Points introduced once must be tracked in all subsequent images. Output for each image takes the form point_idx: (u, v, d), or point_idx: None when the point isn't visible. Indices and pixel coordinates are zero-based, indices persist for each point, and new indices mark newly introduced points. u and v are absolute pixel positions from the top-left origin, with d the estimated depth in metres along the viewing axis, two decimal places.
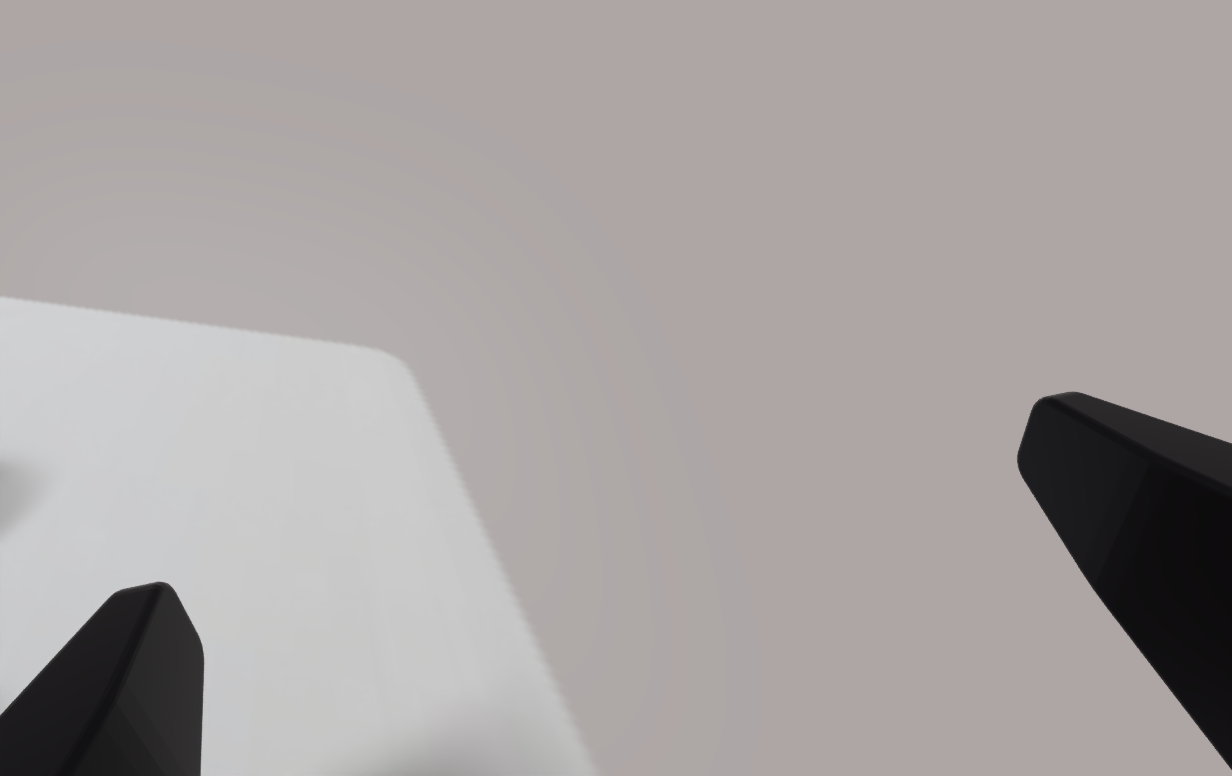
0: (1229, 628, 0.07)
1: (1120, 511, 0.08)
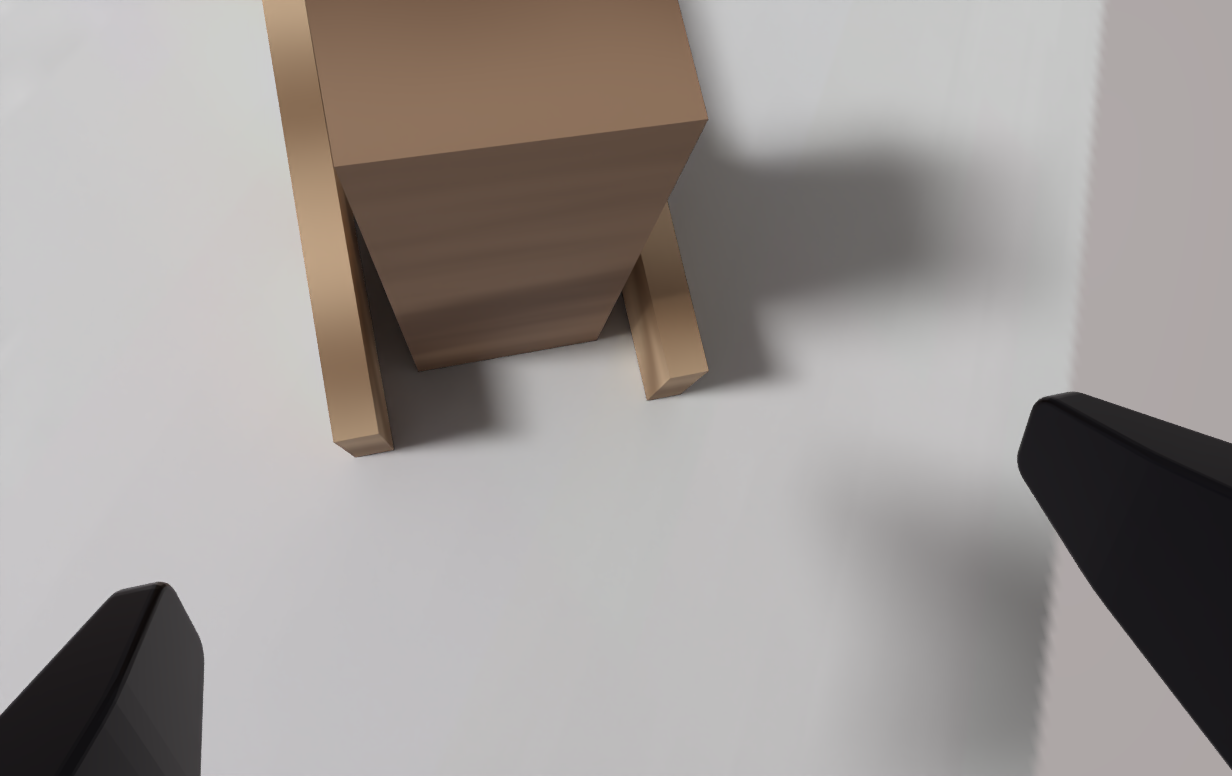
0: (1229, 628, 0.07)
1: (1120, 511, 0.08)
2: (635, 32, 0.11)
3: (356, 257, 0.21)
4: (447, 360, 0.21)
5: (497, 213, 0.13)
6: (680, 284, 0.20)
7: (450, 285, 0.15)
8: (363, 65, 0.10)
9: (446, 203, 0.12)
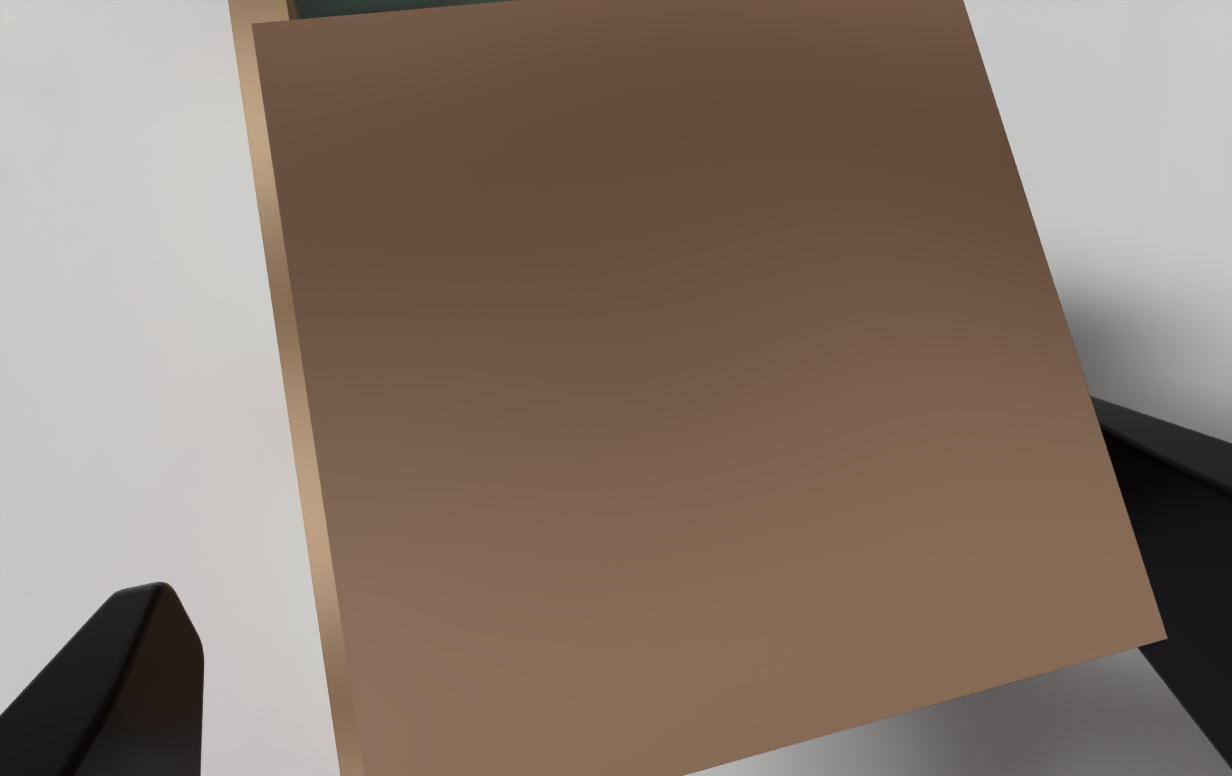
0: (1229, 628, 0.07)
1: None
2: (1005, 445, 0.05)
3: None
4: None
5: None
6: None
7: None
8: (442, 582, 0.05)
9: None
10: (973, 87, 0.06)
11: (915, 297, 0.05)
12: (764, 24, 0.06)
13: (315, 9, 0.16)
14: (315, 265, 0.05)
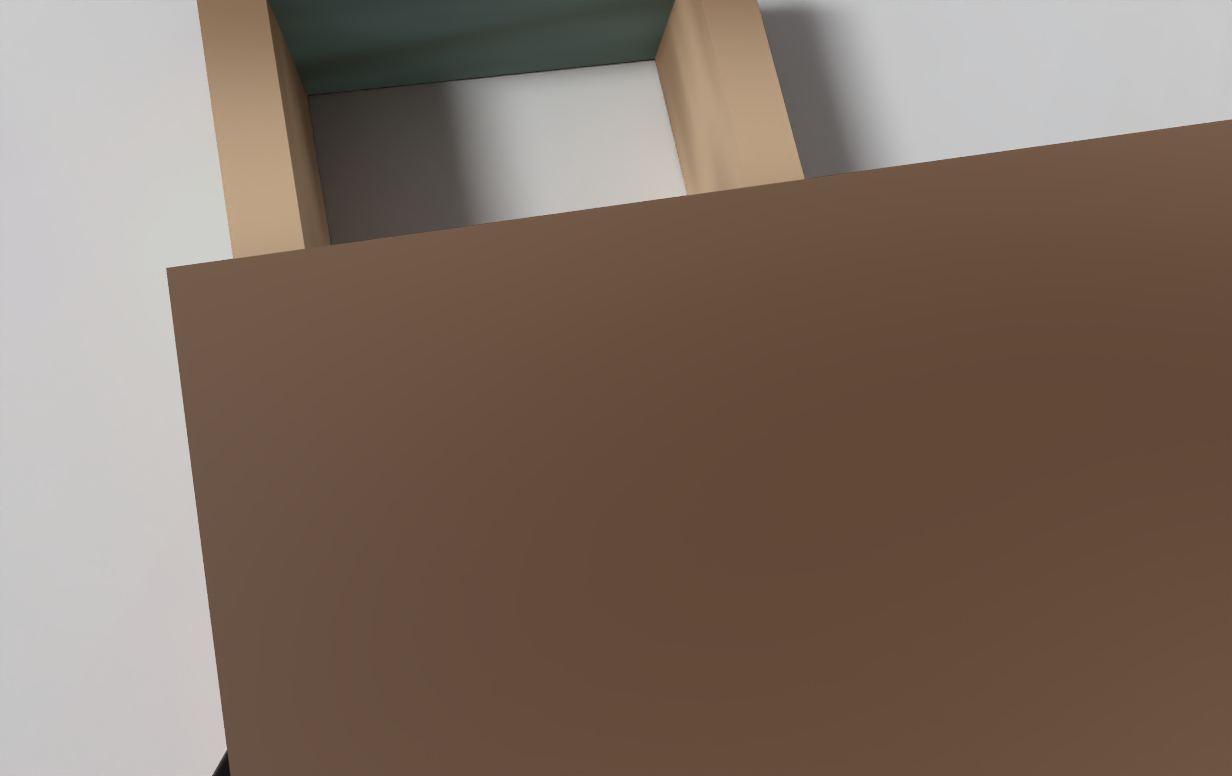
0: None
1: None
2: None
3: None
4: None
5: None
6: None
7: None
8: None
9: None
10: None
11: None
12: (1078, 224, 0.03)
13: (308, 47, 0.14)
14: None
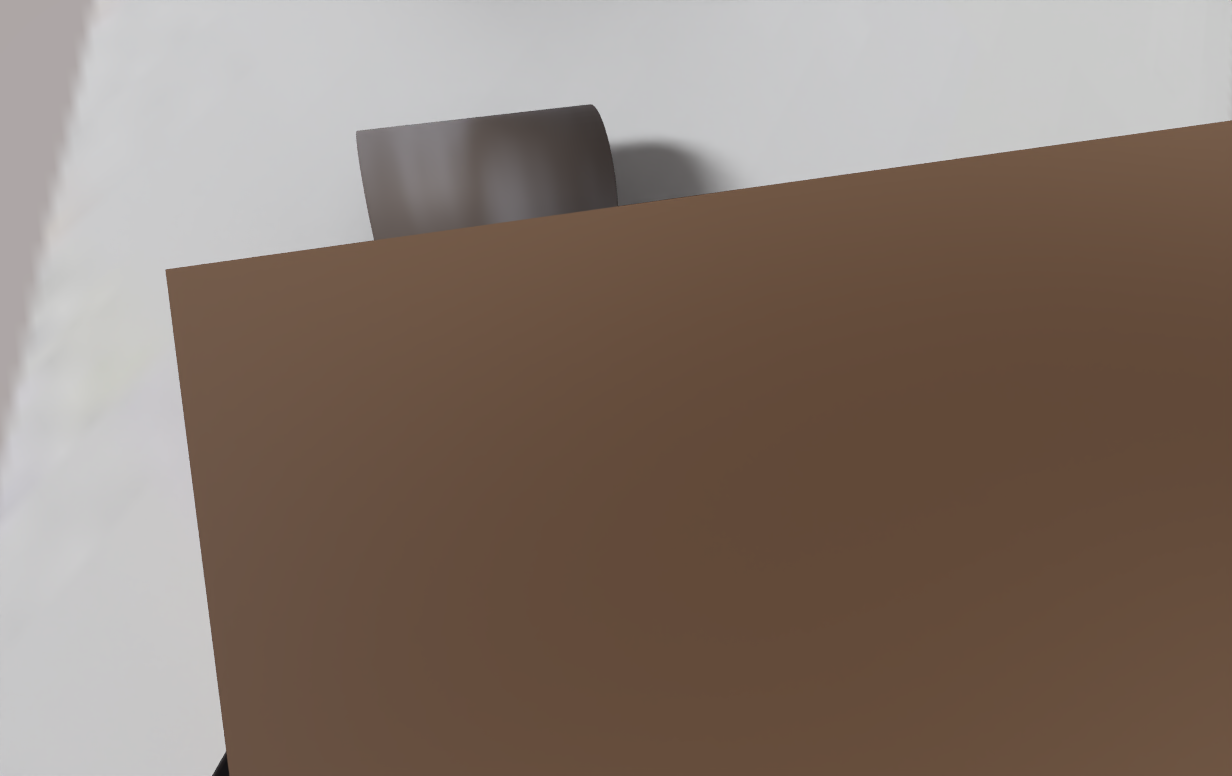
0: None
1: None
2: None
3: None
4: None
5: None
6: None
7: None
8: None
9: None
10: None
11: None
12: (1078, 227, 0.03)
13: None
14: None
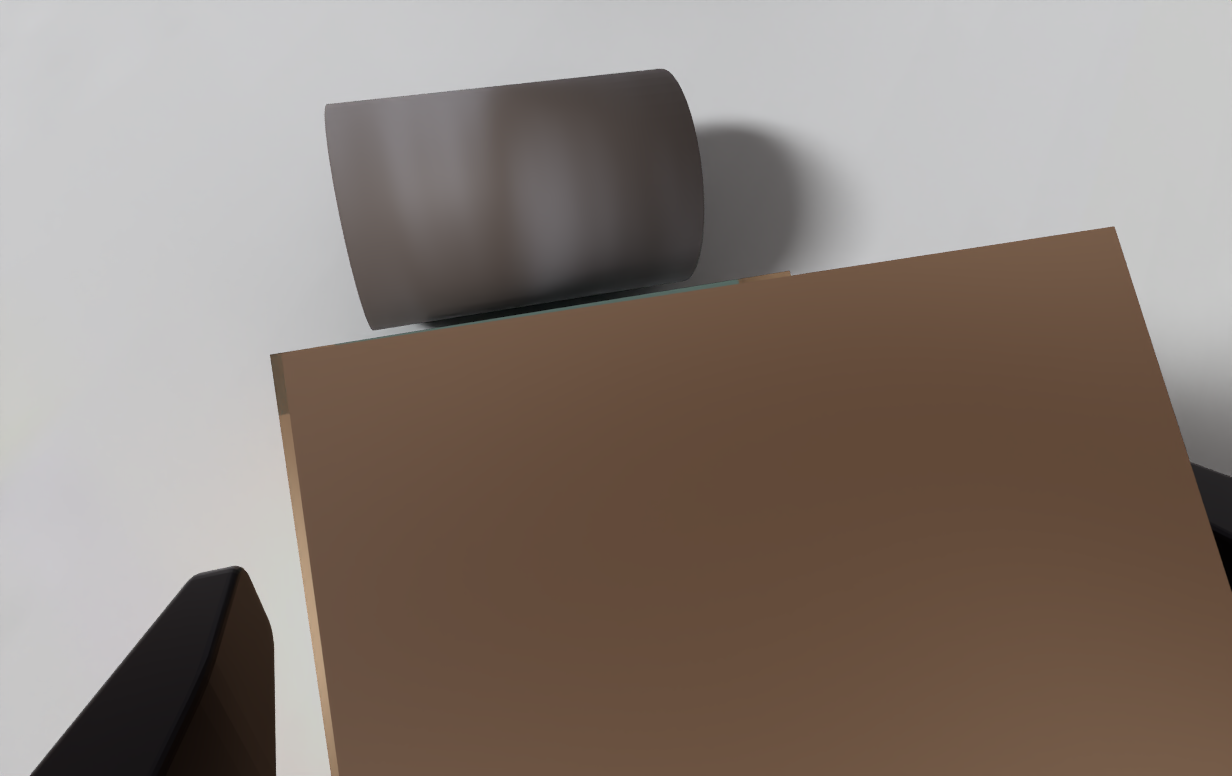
0: None
1: None
2: None
3: None
4: None
5: None
6: None
7: None
8: None
9: None
10: (1145, 387, 0.05)
11: (1089, 671, 0.04)
12: (898, 319, 0.05)
13: None
14: (360, 680, 0.04)
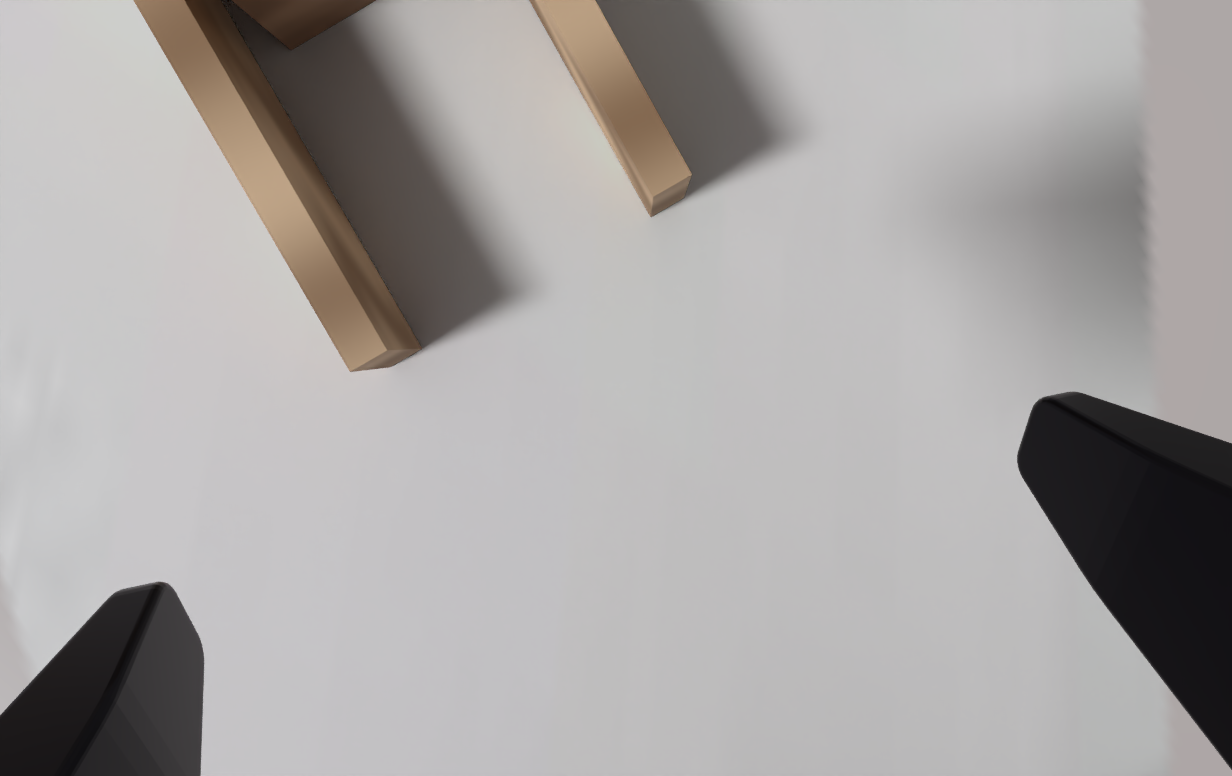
0: (1229, 628, 0.07)
1: (1120, 511, 0.08)
2: None
3: (309, 174, 0.20)
4: (307, 24, 0.20)
5: None
6: (634, 87, 0.18)
7: None
8: None
9: None
10: None
11: None
12: None
13: None
14: None
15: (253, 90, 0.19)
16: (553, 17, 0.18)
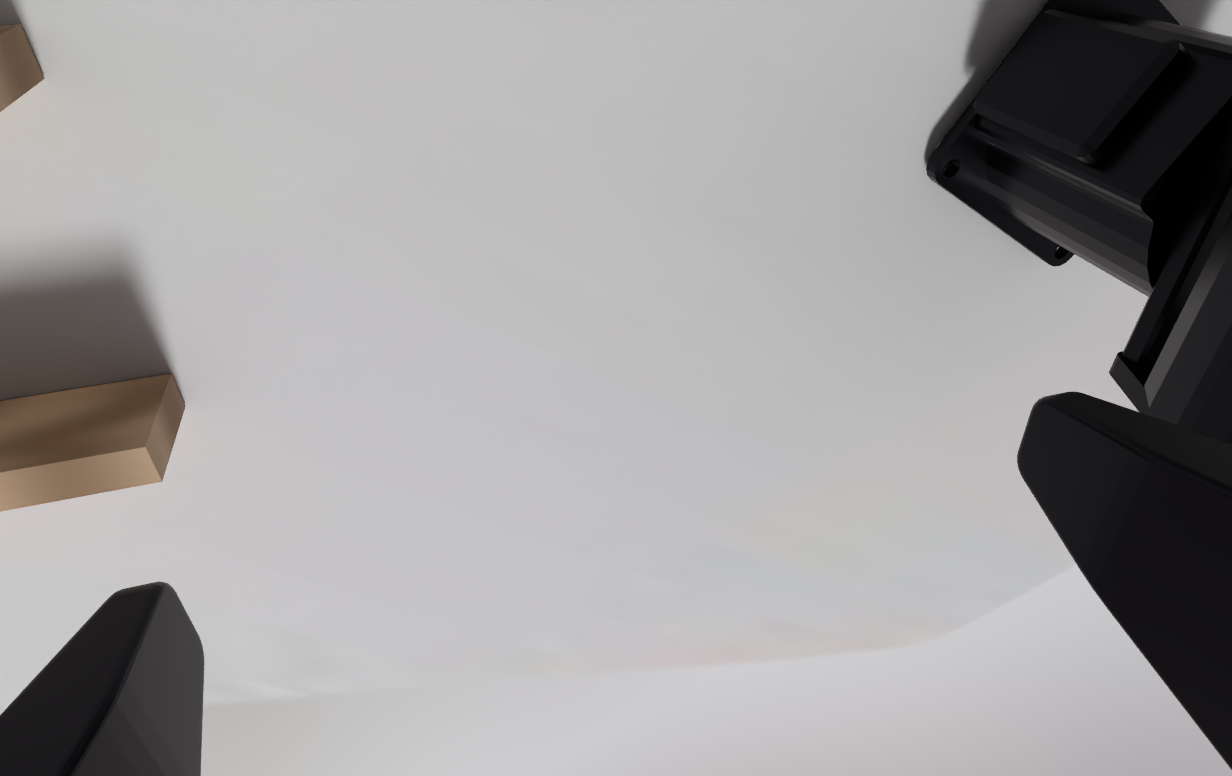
0: (1230, 628, 0.07)
1: (1120, 511, 0.08)
2: None
3: None
4: None
5: None
6: None
7: None
8: None
9: None
10: None
11: None
12: None
13: None
14: None
15: None
16: None
